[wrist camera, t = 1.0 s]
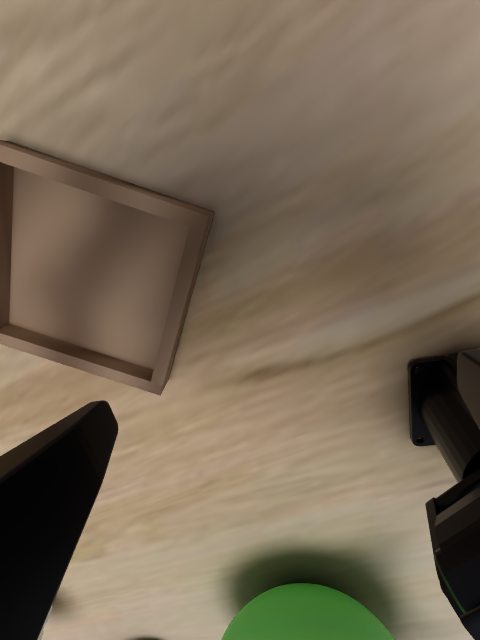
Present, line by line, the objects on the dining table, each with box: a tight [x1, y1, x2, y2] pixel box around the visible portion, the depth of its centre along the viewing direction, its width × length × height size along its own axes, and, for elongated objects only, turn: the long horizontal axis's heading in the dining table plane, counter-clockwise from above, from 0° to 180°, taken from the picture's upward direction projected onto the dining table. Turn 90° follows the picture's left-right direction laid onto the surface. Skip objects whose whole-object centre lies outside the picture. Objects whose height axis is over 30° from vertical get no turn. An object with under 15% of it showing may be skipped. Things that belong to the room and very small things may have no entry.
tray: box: [0, 140, 214, 395], centre depth 20 cm, size 12×12×2 cm
